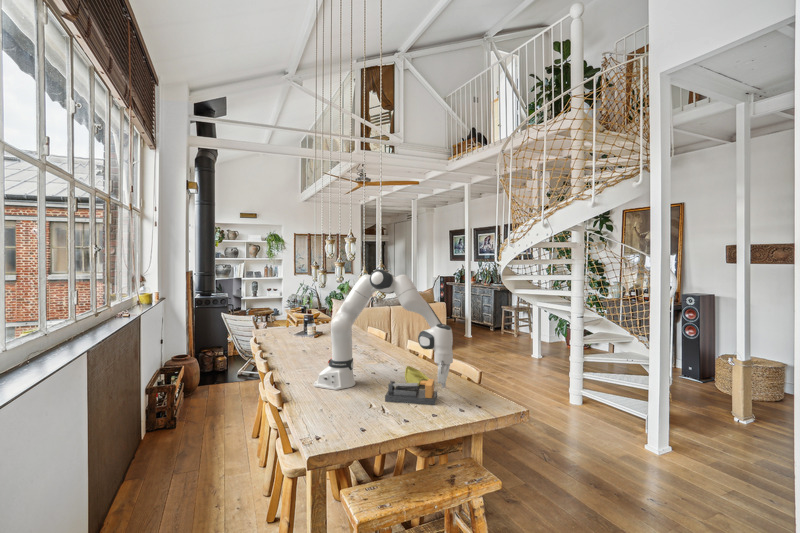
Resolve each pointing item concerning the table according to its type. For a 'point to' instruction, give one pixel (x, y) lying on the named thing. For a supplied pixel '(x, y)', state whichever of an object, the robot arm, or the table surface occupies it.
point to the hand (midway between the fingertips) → (443, 387)
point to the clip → (428, 387)
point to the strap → (404, 384)
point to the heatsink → (408, 395)
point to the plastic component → (414, 375)
